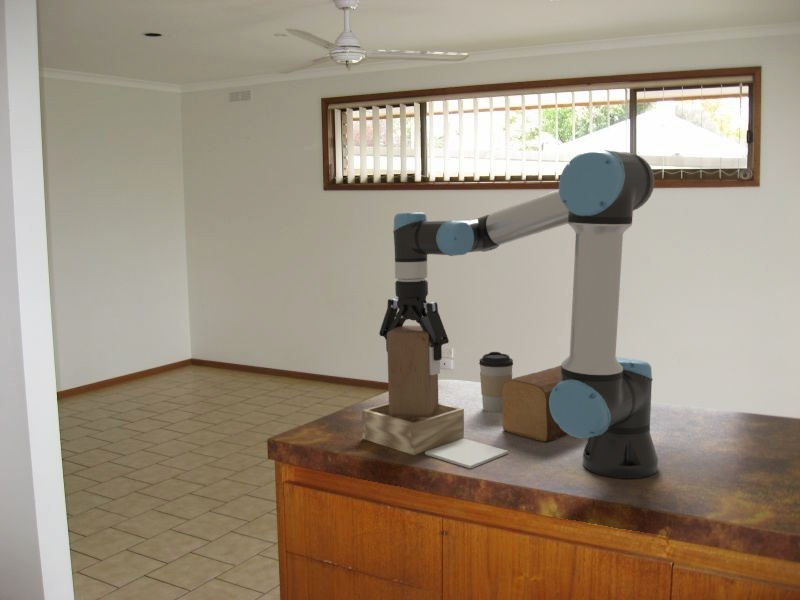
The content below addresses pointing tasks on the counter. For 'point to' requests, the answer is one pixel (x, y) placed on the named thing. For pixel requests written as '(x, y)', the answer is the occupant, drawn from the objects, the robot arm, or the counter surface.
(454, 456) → the grey mat
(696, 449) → the counter surface
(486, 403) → the coffee cup
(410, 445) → the birch frame
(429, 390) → the wooden block
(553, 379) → the bread
